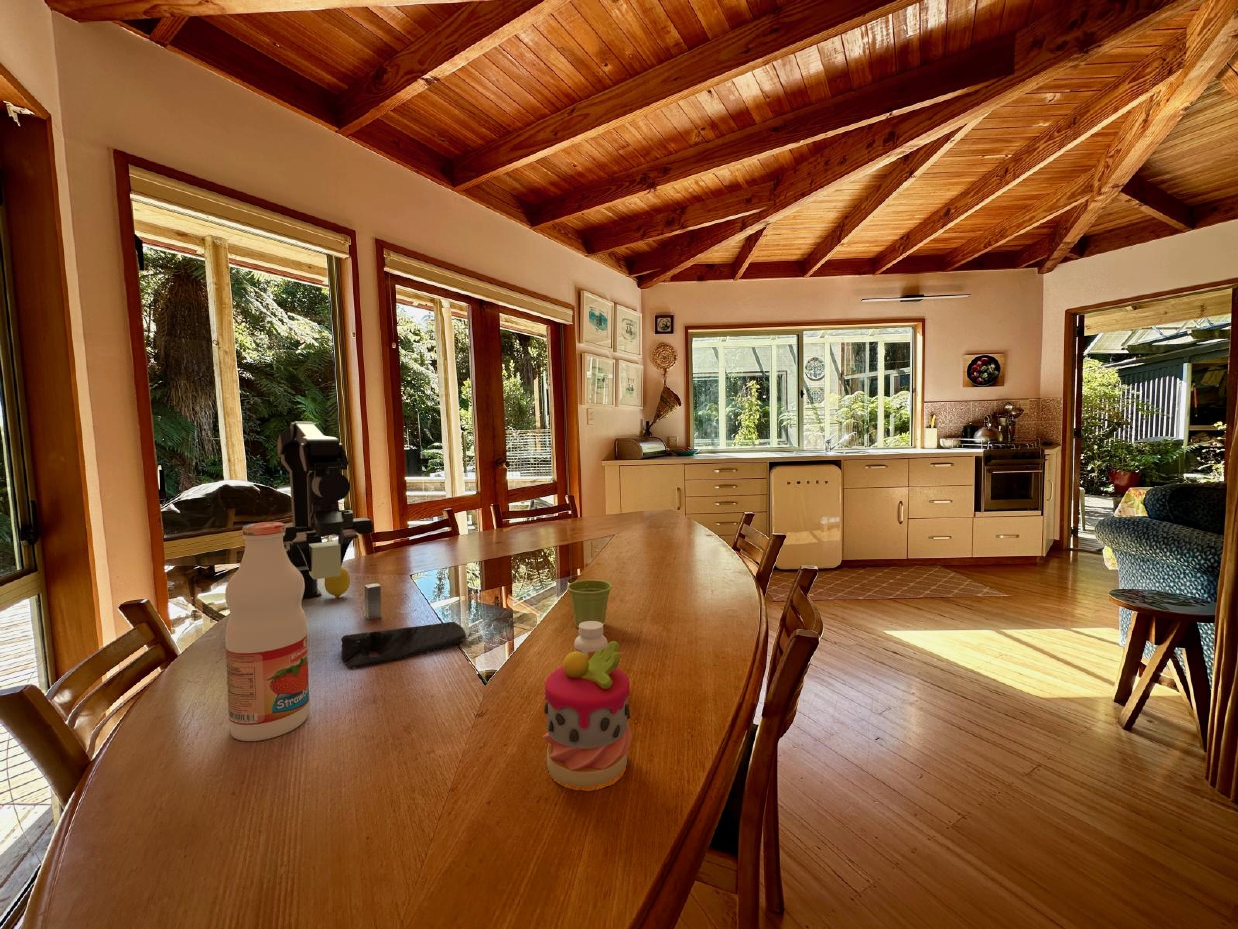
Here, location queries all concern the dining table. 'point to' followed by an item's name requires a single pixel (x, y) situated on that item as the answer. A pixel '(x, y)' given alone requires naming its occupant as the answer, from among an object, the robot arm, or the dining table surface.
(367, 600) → the post
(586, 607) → the plant pot
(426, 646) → the dark slate chunk
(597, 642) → the supplement bottle
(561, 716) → the cake
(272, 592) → the fruit juice
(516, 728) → the dining table surface
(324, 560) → the cream rectangular block
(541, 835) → the dining table surface
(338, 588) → the lemon
